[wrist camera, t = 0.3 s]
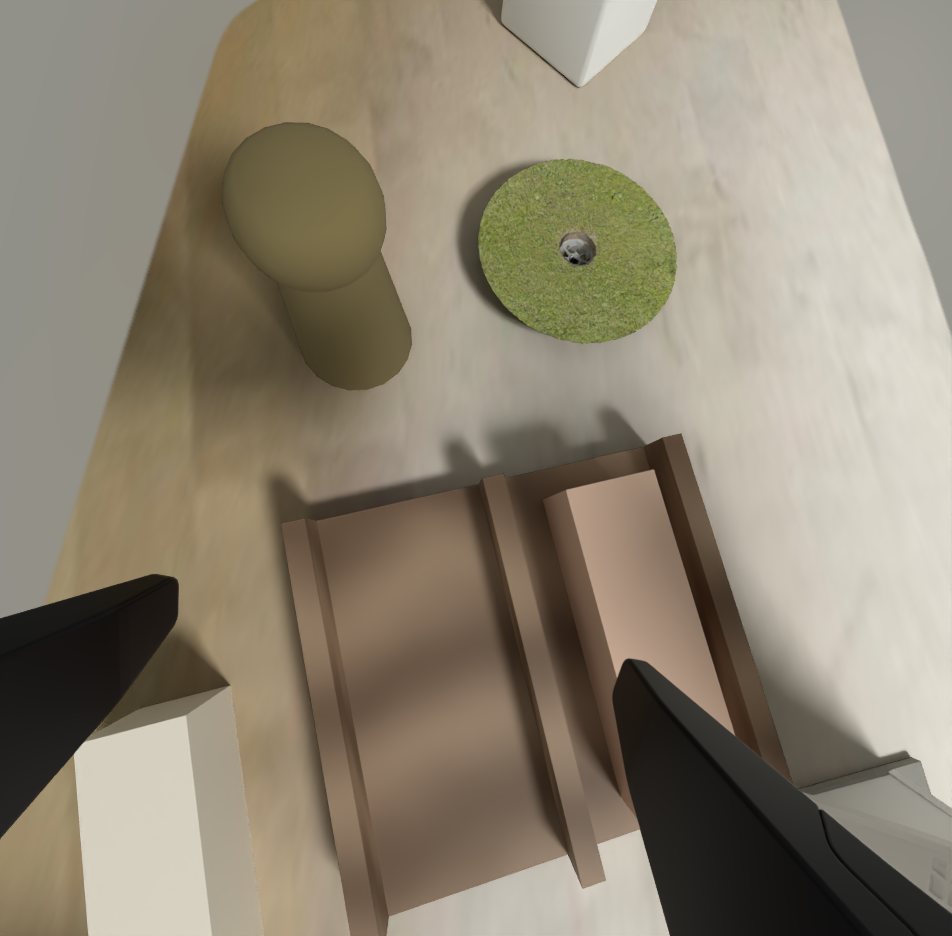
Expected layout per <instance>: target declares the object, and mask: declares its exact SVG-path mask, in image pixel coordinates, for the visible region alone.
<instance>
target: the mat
mask: <svg viewBox="0 0 952 936" xmlns="http://www.w3.org/2000/svg"><path fill="white" fill-rule="evenodd" d="M485 209H486V210H485V211H484V213H483V217H482V219H481V223H480V226H481V227H480V229H479V235H478V240H479V246H478V248H479V253H480V261H481V264H482V269H483V270H484V274H485V276H486V278H487V281H488V283H489V285H490V286H491V288H492V290H493V291H494V293H495V294H496V296H497V297H498V298H499V299H500V301H501V302H502V303H503V305H504V306H505V307H506V308H507V309H508V310H509V311H510V312H512V314H514V315H515V316H516V317H518V318H519V320H521V321H523V322H524V323H525V324H527V326H529V327H532V328H534V329H535V330H539V332H542V333H544V334H547V335H551V336H553V337H555V338H557V339H561V340H569V341H571V342H575V343H577V342H579V343H586V344H587V343H602V342H605V341H609V340H615V339H618V338H621V337H624V336H626V335H629V334H631V333H634V332H636V330H638V329H641V328H642V327H643V326H644V325H647V324H648V321H651V320H652V319H653V318H654V317H655V316H656V315H657V314H658V312H659V311H660V309H661V307H662V306H663V305H664V304H665V303H666V301H667V300H668V298H669V294H670V293H671V291H672V288H673V284H674V281H675V275H676V268H677V265H676V259H677V256H676V246H675V245H674V244H675V243H674V236H673V233H672V232H671V228H670V227H669V223H668V221H667V219H666V218H665V216H664V214H663V213H662V210H661V209H660V208H659V207H658V205H657V204H656V202H655V201H654V200H653V199H652V198H651V197H650V196H649V195H648V194H647V193H646V192H645V190H644V189H643V188H642V187H640V186H639V185H637V183H636V182H634V181H632V180H631V179H629V178H628V177H627V176H625V175H623V174H622V173H620V172H618V171H615V170H613V169H612V168H610V167H607V166H605V165H600V164H595V163H591V162H588V161H584V160H575V159H567V160H565V159H561V160H553V161H552V160H551V161H550V162H548V161H546V162H542V163H539V164H535V165H533V166H531V167H528V168H526V169H523V170H522V171H521V172H519V173H518V174H515V175H514V176H512V177H511V178H509V179H508V180H507V182H506V183H504V184H503V185H502V186H500V189H498V190H497V191H496V192H495V194H494V195H493V196H492V198H491V200H490V201H489V202H488V204H487V207H486V208H485Z"/></svg>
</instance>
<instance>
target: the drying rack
mask: <svg viewBox="0 0 952 936" xmlns="http://www.w3.org/2000/svg"><path fill="white" fill-rule="evenodd" d="M653 469H654V471H655V474H656V478H657V481H658V484H659V488H660V491H661V494H662V497H663V501H664V504H665V507H666V510H667V514H668V517H669V520H670V524H671V527H672V530H673V533H674V537H675V540H676V543H677V547H678V550H679V553H680V556H681V560H682V563H683V566H684V569H685V573H686V576H687V579H688V583H689V586H690V589H691V592H692V596H693V599H694V602H695V606H696V609H697V612H698V615H699V619H700V622H701V625H702V628H703V632H704V635H705V638H706V642H707V645H708V648H709V651H710V655H711V658H712V661H713V664H714V668H715V671H716V674H717V678H718V681H719V684H720V687H721V691H722V694H723V697H724V701H725V704H726V707H727V710H728V714H729V717H730V720H731V723H732V727H733V730H734V733H735V736H736V737H737V738H738V739H739V740H741V741H742V742H743V743H744V744H745V745H747V746H748V747H749V748H750V749H751V750H753V751H754V752H755V753H756V754H757V755H758V756H760V757H761V758H762V759H763V760H764V761H766V762H767V763H768V764H769V765H770V766H772V767H773V768H774V769H775V770H776V771H778V772H779V773H780V774H781V775H782V776H783V777H785V778H786V779H787V780H788V781H789V782H791V783H792V784H793V782H792V779H791V776H790V773H789V770H788V766H787V763H786V760H785V757H784V754H783V751H782V748H781V745H780V741H779V738H778V735H777V732H776V729H775V726H774V723H773V719H772V716H771V713H770V710H769V707H768V704H767V701H766V697H765V694H764V691H763V688H762V685H761V682H760V679H759V676H758V672H757V669H756V666H755V663H754V660H753V657H752V654H751V650H750V647H749V644H748V641H747V638H746V635H745V632H744V629H743V625H742V622H741V619H740V616H739V613H738V610H737V607H736V603H735V600H734V597H733V594H732V591H731V588H730V585H729V581H728V578H727V575H726V572H725V569H724V566H723V563H722V560H721V556H720V553H719V550H718V547H717V544H716V541H715V538H714V534H713V531H712V528H711V525H710V522H709V519H708V516H707V513H706V509H705V506H704V503H703V500H702V497H701V494H700V491H699V487H698V484H697V481H696V478H695V475H694V472H693V469H692V465H691V462H690V459H689V456H688V453H687V450H686V447H685V444H684V440H683V437H682V434H677V435H672V436H668V437H663V438H661V439H659V440H657V441H655V442H652V443H650V444H648V445H646V446H644V447H640V448H636V449H632V450H627V451H623V452H618V453H614V454H610V455H605V456H601V457H596V458H592V459H588V460H583V461H579V462H574V463H570V464H565V465H561V466H557V467H552V468H548V469H543V470H539V471H535V472H530V473H526V474H521V475H517V476H512V477H508V478H505V477H504V473H503V474H499V475H494V476H490V477H485V478H482V480H481V481H480V483H479V484H477V485H473V486H468V487H464V488H459V489H455V490H451V491H446V492H442V493H437V494H433V495H429V496H424V497H420V498H415V499H411V500H406V501H402V502H398V503H393V504H389V505H384V506H380V507H376V508H371V509H367V510H362V511H358V512H353V513H349V514H345V515H340V516H336V517H331V518H327V519H323V520H318V521H315V520H311V519H306V518H303V519H299V520H294V521H290V522H285V523H281V527H282V533H283V539H284V545H285V551H286V557H287V562H288V568H289V574H290V580H291V586H292V592H293V598H294V604H295V610H296V616H297V621H298V627H299V633H300V639H301V645H302V651H303V657H304V663H305V669H306V675H307V681H308V686H309V692H310V698H311V704H312V710H313V716H314V722H315V728H316V734H317V740H318V746H319V751H320V757H321V763H322V769H323V775H324V781H325V787H326V793H327V799H328V805H329V811H330V816H331V822H332V828H333V834H334V840H335V846H336V852H337V858H338V864H339V870H340V876H341V881H342V887H343V893H344V899H345V905H346V911H347V917H348V923H349V929H350V935H351V936H386V934H387V927H388V919H389V916H392V915H395V914H397V913H400V912H403V911H406V910H409V909H412V908H415V907H418V906H420V905H423V904H426V903H429V902H432V901H435V900H438V899H441V898H443V897H446V896H449V895H452V894H455V893H458V892H461V891H464V890H466V889H469V888H472V887H475V886H478V885H481V884H484V883H487V882H489V881H492V880H495V879H498V878H501V877H504V876H507V875H510V874H512V873H515V872H518V871H521V870H524V869H527V868H530V867H533V866H535V865H538V864H541V863H544V862H547V861H550V860H553V859H556V858H559V857H561V856H564V855H567V854H568V856H569V858H570V860H571V863H572V865H573V867H574V870H575V872H576V874H577V877H578V879H579V881H580V884H581V886H582V888H586V887H589V886H592V885H595V884H597V883H600V882H603V881H606V879H605V875H604V871H603V867H602V863H601V859H600V855H599V851H598V847H597V844H599V843H602V842H605V841H607V840H610V839H613V838H616V837H619V836H622V835H625V834H628V833H630V832H633V831H636V830H639V829H640V827H639V824H638V820H637V818H636V817H635V815H634V814H633V813H632V811H631V810H630V809H629V807H628V806H627V805H626V803H625V802H624V801H623V799H622V798H621V796H620V792H619V788H618V784H617V780H616V777H615V773H614V769H613V765H612V761H611V758H610V754H609V750H608V746H607V742H606V739H605V735H604V731H603V727H602V723H601V720H600V716H599V712H598V708H597V704H596V700H595V697H594V693H593V689H592V685H591V681H590V678H589V674H588V670H587V666H586V662H585V659H584V655H583V651H582V647H581V643H580V640H579V636H578V632H577V628H576V624H575V621H574V617H573V613H572V609H571V605H570V602H569V598H568V594H567V590H566V586H565V583H564V579H563V575H562V571H561V567H560V563H559V560H558V556H557V552H556V548H555V544H554V541H553V537H552V533H551V529H550V525H549V522H548V518H547V514H546V510H545V506H544V503H543V500H544V499H546V498H548V497H551V496H553V495H555V494H558V493H560V492H562V491H564V490H568V489H572V488H576V487H580V486H585V485H589V484H593V483H597V482H602V481H606V480H610V479H615V478H619V477H623V476H627V475H632V474H636V473H640V472H644V471H649V470H653Z"/></svg>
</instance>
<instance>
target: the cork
mask: <svg viewBox="0 0 952 936" xmlns="http://www.w3.org/2000/svg"><path fill="white" fill-rule="evenodd" d="M222 205H223V208H224V212H225V215H226V218H227V221H228V224H229V227H230V229H231V232H232V235H233V238H234V239H235V241H236V242H237V244H238V245H239V247H240V248H241V249H242V251H243V252H244V253H245V254H246V256H247V257H248V258H249V259H250V260H251V261H252V263H253V264H254V265H255V266H256V267H257V268H258V269H259V270H260V271H262V272H263V273H264V274H266V275H267V276H269V277H270V278H272V279H273V280H275V281H276V282H277V285H278V288H279V290H280V293H281V296H282V299H283V301H284V304H285V307H286V310H287V312H288V315H289V318H290V321H291V323H292V326H293V329H294V332H295V334H296V337H297V340H298V342H299V345H300V348H301V351H302V353H303V356H304V359H305V361H306V364H307V365H308V366H309V367H310V368H311V370H312V371H313V372H314V373H315V374H316V376H317V377H319V378H321V379H322V380H324V381H325V382H327V383H329V384H330V385H332V386H335V387H339V388H343V389H347V390H365V389H370V388H373V387H376V386H378V385H381V384H384V383H385V382H387V381H388V380H389V379H391V378H392V377H394V376H395V375H396V374H398V372H399V371H400V369H401V368H402V367H403V365H404V364H405V362H406V361H407V359H408V356H409V352H410V349H411V346H412V338H411V327H410V325H409V322H408V320H407V317H406V315H405V312H404V309H403V307H402V304H401V302H400V299H399V297H398V294H397V292H396V289H395V286H394V284H393V281H392V279H391V276H390V274H389V271H388V269H387V266H386V264H385V261H384V258H383V256H382V253H381V248H382V245H383V242H384V238H385V233H386V211H385V202H384V195H383V193H382V190H381V188H380V186H379V183H378V181H377V179H376V176H375V174H374V172H373V170H372V168H371V166H370V164H369V163H368V162H367V160H366V159H365V158H364V157H363V156H362V155H361V154H360V153H359V151H358V150H357V149H356V148H355V147H354V146H353V145H352V144H351V143H349V142H348V141H347V140H346V139H344V138H343V137H341V136H339V135H338V134H336V133H335V132H333V131H331V130H330V129H327V128H324V127H320V126H317V125H313V124H310V123H288V122H286V123H282V124H277V125H273V126H269V127H265V128H263V129H261V130H260V131H258V132H256V133H254V134H253V135H251V136H249V137H247V138H246V139H245V140H244V141H243V142H242V143H241V144H240V145H239V147H238V148H237V149H236V150H235V151H234V152H233V153H232V155H231V158H230V160H229V163H228V165H227V167H226V170H225V173H224V178H223V193H222Z"/></svg>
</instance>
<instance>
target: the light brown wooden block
mask: <svg viewBox="0 0 952 936" xmlns="http://www.w3.org/2000/svg"><path fill="white" fill-rule="evenodd" d="M543 503H544V506H545V510H546V514H547V518H548V522H549V525H550V529H551V533H552V537H553V541H554V544H555V548H556V552H557V556H558V560H559V563H560V567H561V571H562V575H563V579H564V583H565V586H566V590H567V594H568V598H569V602H570V605H571V609H572V613H573V617H574V621H575V624H576V628H577V632H578V636H579V640H580V643H581V647H582V651H583V655H584V659H585V662H586V666H587V670H588V674H589V678H590V681H591V685H592V689H593V693H594V697H595V700H596V704H597V708H598V712H599V716H600V720H601V723H602V727H603V731H604V735H605V739H606V742H607V746H608V750H609V754H610V758H611V761H612V765H613V769H614V773H615V777H616V780H617V784H618V788H619V792H620V796H621V798H622V799H623V801H624V802H625V803H626V805H627V806H628V807H629V809H630V810H631V811H632V813H633V814H634V815H635V817H636V813H635V809H634V806H633V802H632V799H631V795H630V791H629V787H628V784H627V779H626V774H625V770H624V764H623V759H622V753H621V748H620V742H619V736H618V731H617V725H616V720H615V714H614V709H613V703H612V693H613V688H614V686H615V683H616V680H617V677H618V674H619V672H620V669H621V666H622V664H623V662H624V660H625V659H627V658H632V659H637V660H643V661H646V662H648V663H649V664H650V665H651V666H653V667H654V668H655V669H656V670H657V671H659V672H660V673H661V674H662V675H663V676H664V677H666V678H667V679H668V680H669V681H670V682H672V683H673V684H674V685H675V686H676V687H678V688H679V689H680V690H681V691H682V692H684V693H685V694H686V695H687V696H688V697H689V698H691V699H692V700H693V701H694V702H695V703H697V704H698V705H699V706H700V707H701V708H703V709H704V710H705V711H706V712H707V713H708V714H710V715H711V716H712V717H713V718H714V719H716V720H717V721H718V722H719V723H720V724H722V725H723V726H724V727H725V728H726V729H728V730H729V731H730V732H731V733H732V734H733V735H735V733H734V730H733V727H732V723H731V720H730V717H729V714H728V710H727V707H726V704H725V701H724V697H723V694H722V691H721V687H720V684H719V681H718V678H717V674H716V671H715V668H714V664H713V661H712V658H711V655H710V651H709V648H708V645H707V642H706V638H705V635H704V632H703V628H702V625H701V622H700V619H699V615H698V612H697V609H696V606H695V602H694V599H693V596H692V592H691V589H690V586H689V583H688V579H687V576H686V573H685V569H684V566H683V563H682V560H681V556H680V553H679V550H678V547H677V543H676V540H675V537H674V533H673V530H672V527H671V524H670V520H669V517H668V514H667V510H666V507H665V504H664V501H663V497H662V494H661V491H660V488H659V484H658V481H657V478H656V474H655V471H654V469H653V470H649V471H644V472H640V473H636V474H632V475H627V476H623V477H619V478H615V479H610V480H606V481H602V482H597V483H593V484H589V485H585V486H580V487H576V488H572V489H568V490H564V491H562V492H560V493H558V494H555V495H553V496H551V497H548V498H546V499H544V500H543ZM636 818H637V817H636Z"/></svg>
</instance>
